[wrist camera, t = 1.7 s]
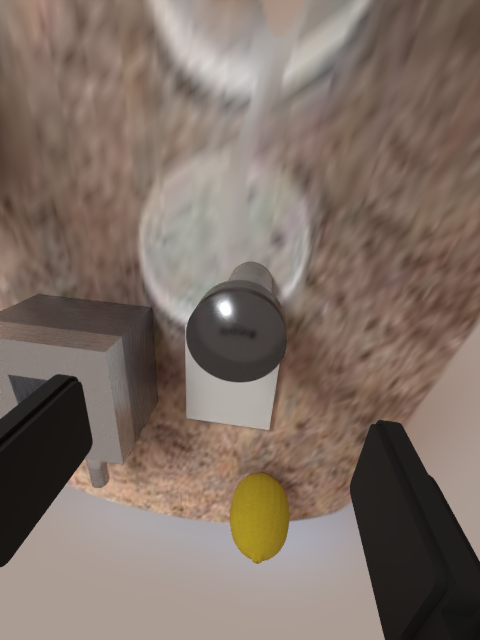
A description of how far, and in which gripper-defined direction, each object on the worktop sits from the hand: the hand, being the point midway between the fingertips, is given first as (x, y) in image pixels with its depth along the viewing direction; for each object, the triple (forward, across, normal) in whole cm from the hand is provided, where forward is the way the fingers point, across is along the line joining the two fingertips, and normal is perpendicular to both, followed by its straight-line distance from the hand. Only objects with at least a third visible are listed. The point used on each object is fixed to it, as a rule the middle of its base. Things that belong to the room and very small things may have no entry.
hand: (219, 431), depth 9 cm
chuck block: (+14, +13, +11) cm, 22 cm away
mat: (+14, +1, +8) cm, 16 cm away
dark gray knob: (+14, 0, -1) cm, 14 cm away
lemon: (+15, -3, +20) cm, 25 cm away
